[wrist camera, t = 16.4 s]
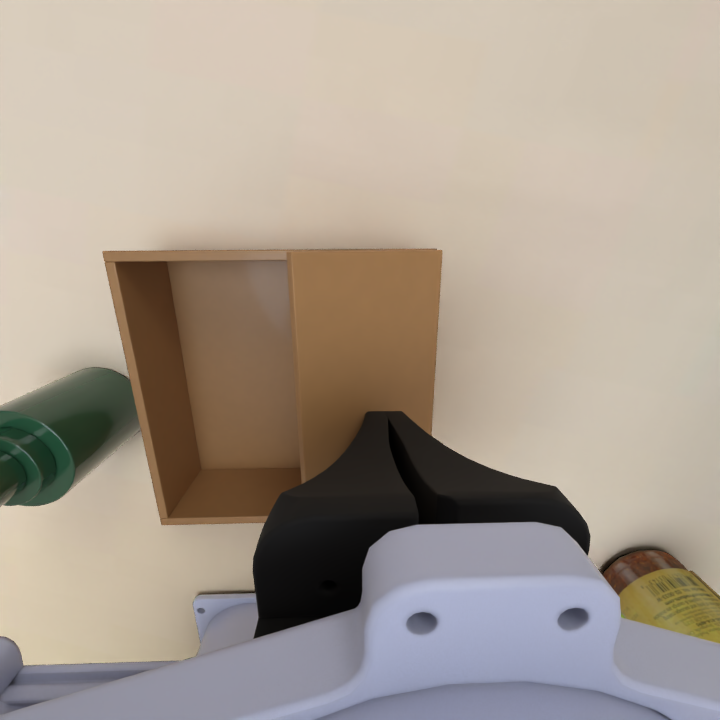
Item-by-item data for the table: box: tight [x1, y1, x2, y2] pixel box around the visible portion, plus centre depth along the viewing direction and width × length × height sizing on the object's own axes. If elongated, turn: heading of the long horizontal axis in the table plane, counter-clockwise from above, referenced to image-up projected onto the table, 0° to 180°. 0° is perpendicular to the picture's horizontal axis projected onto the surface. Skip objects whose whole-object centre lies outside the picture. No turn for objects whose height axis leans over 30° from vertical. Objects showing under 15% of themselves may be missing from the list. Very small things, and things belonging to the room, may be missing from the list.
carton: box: [102, 249, 437, 525], centre depth 17 cm, size 13×13×4 cm
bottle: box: [0, 368, 141, 507], centre depth 16 cm, size 5×5×8 cm
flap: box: [286, 250, 442, 484], centre depth 13 cm, size 6×13×1 cm
